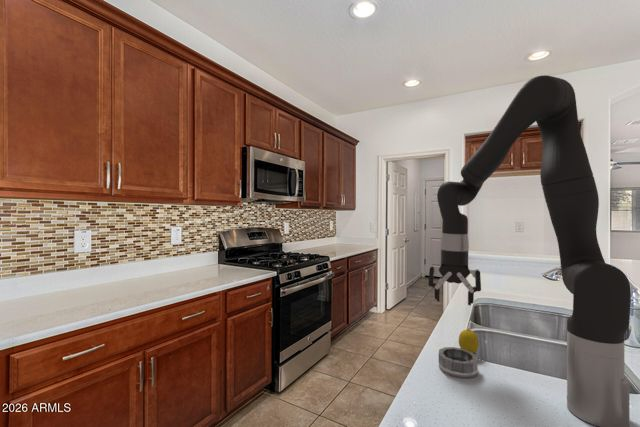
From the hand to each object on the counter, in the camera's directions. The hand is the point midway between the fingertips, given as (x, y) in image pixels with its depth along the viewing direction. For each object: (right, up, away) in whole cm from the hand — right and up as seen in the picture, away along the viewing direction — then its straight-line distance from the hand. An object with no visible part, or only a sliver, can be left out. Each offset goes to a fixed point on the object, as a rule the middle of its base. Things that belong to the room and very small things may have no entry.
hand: (453, 302), depth 91 cm
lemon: (+6, -17, +3) cm, 18 cm away
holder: (-1, -17, -6) cm, 18 cm away
